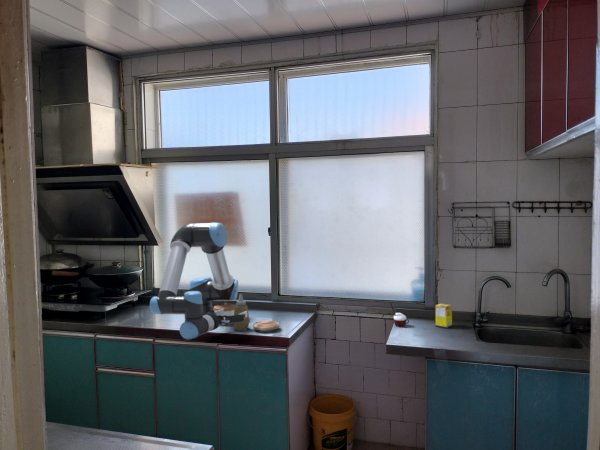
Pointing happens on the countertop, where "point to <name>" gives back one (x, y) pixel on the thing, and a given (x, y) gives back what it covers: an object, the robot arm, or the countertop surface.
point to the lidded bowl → (225, 309)
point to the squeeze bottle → (239, 309)
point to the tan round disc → (266, 326)
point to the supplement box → (443, 315)
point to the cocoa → (399, 319)
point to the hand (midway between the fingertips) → (234, 312)
